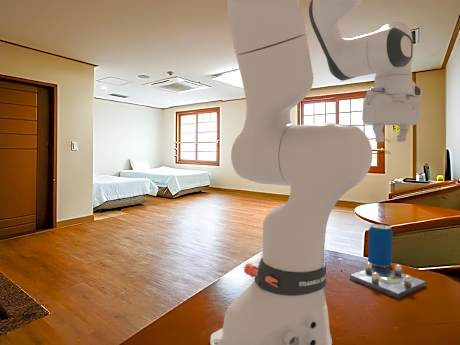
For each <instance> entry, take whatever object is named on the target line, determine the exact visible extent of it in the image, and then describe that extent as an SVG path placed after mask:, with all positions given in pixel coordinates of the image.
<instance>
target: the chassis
mask: <svg viewBox="0 0 460 345" xmlns="http://www.w3.org/2000/svg"><path fill="white" fill-rule="evenodd" d="M394 264H395V263H394ZM402 266H403V265H401V264H398V263H396V264H395V265H394V270H393V269H389V268H388V267H381V266H373V265H372V263H371V262H369V261H365V269H363V270H360V271H357V272H354V273H352V274H349V280H352V281H354V282H357V283H359V284H361V285H363V286H366V287H368V288H371V289H373V290H376V291H379V292H381V293H384V294H386V295H388V296H391V297H393V298H396V299H400V298H402V297H405V296H407V295H409V294H411V293H413V292H415V291H418V290H420V289H422V288H424V287H426V284H427V281H425V280H422V279H419V278H418V277H413V276H411V275H409V274H404V273H402Z"/></svg>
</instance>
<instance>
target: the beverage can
mask: <svg viewBox="0 0 460 345" xmlns="http://www.w3.org/2000/svg"><path fill="white" fill-rule="evenodd" d="M367 250H368V252H367V253H368V254H367V262H371V263H372V266H373V267H375V266H381V267H384V268H388V267H389V266H391V265H392V263H393V262H392V261H393V260H392V259H393V258H392V256H393V230H392V227H391V226H390V225H387V224H382V223H381V224H380V223H379V224H378V223H372V224H371V225H370V227H369V228H368V248H367Z"/></svg>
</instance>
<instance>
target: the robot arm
mask: <svg viewBox="0 0 460 345" xmlns="http://www.w3.org/2000/svg"><path fill="white" fill-rule="evenodd" d="M362 1H363V0H310V3H309V7H308V16H309V21H310V24H311V26H312V29H313V32H314V34H315V36H316V39H317V41H318V43H319V45H320V47H321V50H322V52H323V53H324V56H325V58H326V62H327V66H328V70H329V71H330V73H331V75H332V76H333V77H334V78H336V79H337V80H339V81H342V82H343V81H347V80H352V79H355V78H357V77H358V78H359V77H362V76H370V75H373V74H375V76H374V86H372V87H370V88H369V89H368V90H367V92H366V94H365V95H366V97H365V99H364V102H363V108H362V122H363V124H365V125H372V131H373V133H374V135H375V142H377V143H383V142H386V134H384V131H383V129H384V126H386V125H387V126H398V128H399V132H398V135H397V136H396V141H397V142H399V143H400V142H401V143H402V142H404V143H405V142H406V141H407V135H408V134H409V131H410V126H416V125H417V124H418V123H419V121H420V118H421V104H422V103H421V99H420V97H422V95H423V89H422V88H421V87H420V86H418V85H417V84H416V83H415V81H414V80H413V72H412V62H413V59H414V45H413V43H414V42H413V41H414V40H413V36H412V29H411V26H410V25H409V24H408V23H406V22H401V21H396V22H390V23H387V24H385V25H382V26H381V28H380V29H378V30H376V31H374V32H371V33H368V34H364V35H360V36H356V37H353V38H344V37H342V35H341V34H342V33H341V32H340V28H339V26H338V24H337V22H339V21H340V20H341V19H343V18H344V17H346V16H347V15H349V14H350V13H351V12H353V11H354V10H355V9H357V7H358V6H359V5H360V4H361V2H362ZM226 8H227V15H228V23H229V30H230V35H231V40H232V45H233V49H234V53H235V54H236V56H235V57H236V59H237V64H238V70H239V72H240V76H241V80H242V82H241V83H242V85H243V89H244V90H243V91H244V96H245V103H246V113H245V120H244V124H243V128H242V130H241V132H240V133H239V134H238V135H237V137H236V138H235V140H234V142H233V144H232V147H231V152H230V159H231V164H232V167H233V169H234V171H235V173H236V174H237V175H238V177H240V178H242V179H246V180H248V181H251V182H254V183H256V184H257V183H258V184H261V185H276V186H288V187H290V193H289V196H288V199H287V201H286V203H284V204H281V205H280V206H277V207H276V208H274V209H272V210H270V211H269V212H268V213H267V215H266V216H265V218H264V219H263V222H262V257H261V259H260V260H259V263H258V266H256V265H254V264H252V263H249V262H248V263H246V264H245V266H244V267H243V268H244V269H243V273H245V274H246V275H247V276H248V275H249V276H250V277H251V278H253V277H254V279H253V281H252V283H250V284H249V286H248V287H247V288H246V289H245V290H244V291H243V292H242V293H241V294H240V295H239V296H238V297H237V298H236V299H235V300H234V301H233V302H232V303H231V304H230V305H229V306H228V307H227V309H226V311H225V314H224V319H223V325H222V327H221V328H220V329H218V330H217V331H215V332H212V334H210V340H209V345H332V344H333V340H332V339H333V338H332V335H331V331H330V330H331V329H330V318H329V310H328V305H327V300H326V295H325V294H326V293H325V287H326V285H327V277H328V272H327V264H326V262H325V243H326V235H327V234H326V233H327V225H328V221H329V218H330V216H331V215H330V214H331V213H332V210H333V209H334V207H335V205H336V204H337V203H338V201H339V200H340V199H341V198H342V196H344V195H345V194H346V193H347V192H348V191H350V190H351V189H353V188H354V187H355V186H357V185H359V184H360V183H361V182H362V181H363V180H364V179H365V177H366V176H367V174H369V171H370V168H371V166H372V162H373V149H372V146H371V142H370V140H369V137H367V135H366V134H365V133H364V131H363V130H362V129H361V128H360V127H358V126H354V125H348V124H341V123H333V122H325V123H324V122H323V123H309V124H293V123H292V120H291V109H293V108H294V107H296V106H297V105H298V104H300V103H301V102H302V101H303V100H304V99H305V98H307V96H308V95H309V93H310V92H311V90H312V87H313V83H314V73H313V68H312V62H311V61H312V60H311V55H310V48H309V42H308V37H307V33H306V32H307V31H306V28H305V26H306V25H305V20H304V16H303V12H302V8H301V4H300V1H299V0H226Z"/></svg>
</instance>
